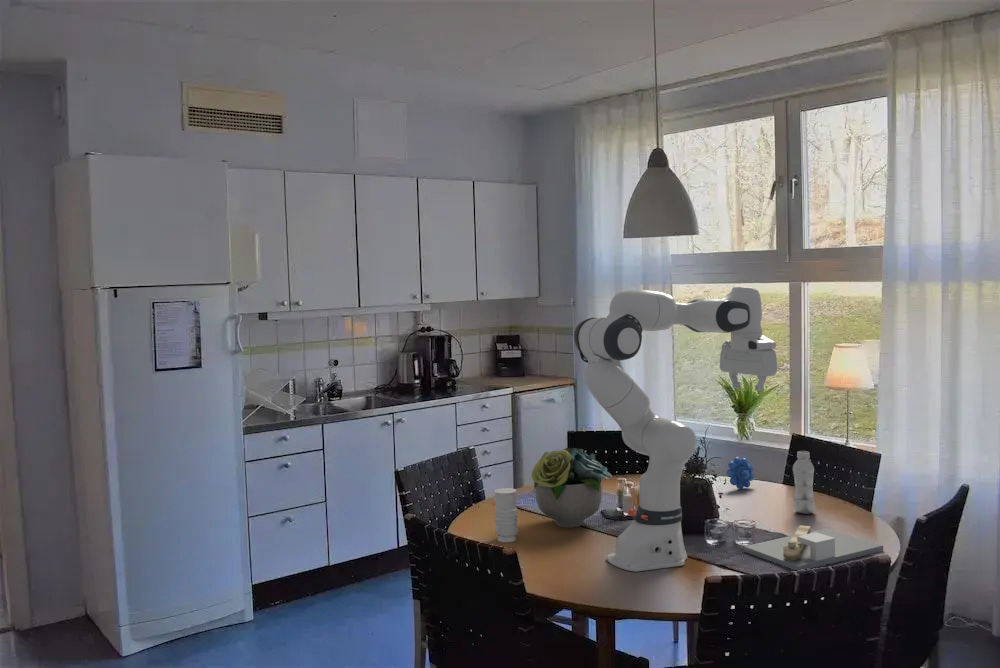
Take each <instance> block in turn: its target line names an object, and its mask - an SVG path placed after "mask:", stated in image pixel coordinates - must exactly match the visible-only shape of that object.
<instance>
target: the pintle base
mask: <svg viewBox="0 0 1000 668" xmlns="http://www.w3.org/2000/svg"><path fill="white" fill-rule="evenodd" d="M792 537H793V535H788V536H785V537H780V538H776V539H771V540H767V541H761V542H758V543H757V542H756V543H753V544H749V545H744V546H743V552H744V553H747V554H749V555H753V556H755V557H758V558H760V559H762V558H763V560H765V559H766V560H765V561H768V560H769V561H768V562H770V561H772V562H771V563H773V562H774V563H773V564H776V563H777V564H776V565H778V564H780V565H779V566H781V565H782V566H781V567H784V566H785V567H784V568H786V567H788V568H787V569H789V568H792V569H793V570H792V569H791V570H792V571H794V570H801V569H807V568H812V569H814V568H813V567H816V568H820V567H819V566H821V567H824V566H827V565H826V564H829V565H832V564H836V562H837V563H839V562H840V561H841V562H845V561H848V560H853V559H856V557H857V558H860V557H863V556H868V555H871V554H875V553H880V552H884V545H882V544H880V543H876V542H873V541H870V540H867V539H863V538H860V537H856V536H853V535H851V534H846V533H844V532H841V531H837V530H833V529H830V528H826V527H824V528H821V529H815V530H811V533H810V534H805V535H801V536H797V542H799V543H802V544H805V546H804V548H803V549H802V551H801V558H800V559H796V560H792V559H787V558H784V557H783V547H784V546H787V545H788V547H790V548H795V547H796V542H795V541H790V540H791V539H792ZM841 562H840V563H841Z"/></svg>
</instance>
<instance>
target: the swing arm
mask: <svg viewBox="0 0 1000 668" xmlns="http://www.w3.org/2000/svg"><path fill="white" fill-rule="evenodd" d="M811 528H812V527H811V526H810V525H799V526H798V527H797V529H796V530H795V532H794V534H793V535H792V536H793V537H792V539H791V540H790V541H795V542H796V547H795V548H790V547H788V545H787V546H784V547H783V557H784V558H787V559H792V560H796V559H800V558H801V551H802V549H803V548H804V546H805V544H802V543H799V542H797V536H801V535H805V534H810V533H811V531H812V529H811Z"/></svg>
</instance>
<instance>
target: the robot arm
mask: <svg viewBox="0 0 1000 668" xmlns="http://www.w3.org/2000/svg"><path fill="white" fill-rule="evenodd" d="M608 309H609V310H608V311H609V313H608V315H606V317H590V318H586V319H584V320H583V321H581V322H579V324H577V325H576V327H575V329H574V332H573V340H574V345H575V347H576V349H577V350H578V352H579V356H580V359H581V360H582V361H583V362H585V363H587V364H586V366H585V368H584V370H583V373H582V380H583V383H584V384H585V386H586V387H587V389H588V391H589V392H590V394H591V395H592V397H593V398H594V399H595V400H596V402H597V403H598V404H599V405H600V406H601V408H602V409H603V410H604V411H605V412H606V413H607V414H608V415H609V416H610V417H611V418H612V420H614V422H615V423H616V424H617V425H618V426H619V428H620V430H621V438H622V440H623V443H624V444H625V445H626V446H627V447H628V448H629V449H631V450H633V451H634V452H636V453H639V454H641V455H644V456H648V457H649V460H648V461H649V462H648V466H647V468H646V469H647V470H646V471H645V472H644V473H643V474H641V476H640V478H639V483H638V486H639V505H638V507H637V510H636V509H633V508H628V510H627V515H628V516H629V517H633V518H634V521H633V522H631V524H630V525H629V526H628V527H627V528H626V529H625V530H623V531H622V533H620V534H619V535H618V536H617V538H616V540H615V546H614V552H611V553H609V554H607V555H606V560H607V562H609V563H610V564H611V565H612V566H615V567H617V568H619V569H622V570H625V571H630V572H644V571H645V572H646V571H650V570H652V571H653V570H660V569H666V568H674V567H680V566H685V563H686V562H685V561H686V560H687V559H688V554H687V551H686V548H685V543H684V538H683V530H682V520H683V511H682V509H683V508H682V506H681V478H682V473H683V468H684V466H685V465H686V463H687V461H688V460H689V459H690V458H691V457H692V456H693V455H694V453H695V451H696V449H697V443H698V442H697V435H696V433H695V431H694V430H693V429H692V428H690V427H689V426H687V425H685V424H684V423H682V422H680V421H677V420H674V419H673V420H671V419H668V418H663V417H661V416H659V415H656V414H655V413H654V412H653V411H652V409H651V408H650V403H651V401H650V398H649V396H648V395H647V394H646V393H645V392H644V390H643V389H642V388H641V387H640V386H639V385H638V384H637V383H636V381H635V380H634V379H633V378H632V377H631V376H630V375H629V374H628V373H627V372H626V371H625V369H624V368H623V366H622V362H621V361H626V360H629V359H632V358H634V357H635V356H636V355H637V354H638V353H639V351H640V349H641V347H642V341H643V335H642V333H643V331H645V332H646V331H647V332H656V331H657V332H658V331H660V332H661V331H665V330H669V329H670V328H671V327H672V326H673V325H680V326H681V325H682V326H684V327H686V328H688V329H689V330H691V331H692V332H696V333H721V334H722V333H723V334H729V333H730V340H725V341H724V342H723V343H722V345H721V350H720V354H719V355H720V356H719V369H720V371H721V372H724V373H725V372H726V373H728V374H729V376H728V377H729V378H730V380H731V382H732V383H731V385H732V388H733V389H740V388H741V381H739V379H738V376H739V374H742V375H750V376H751V375H752V376H757V380H758V381H757V383H756V384H754V387H755V388H754V390H755V391H756V392H763V391H764V385H765V382H766V380H767V377H772V376H775V375H776V374H777V372H778V361H777V360H778V358H777V352H776V351H775V349H776V348H777V347H776V346H777V343H776V341H774V340H772V339H770V338H768V337H766V336H765V335H763V328H762V324H761V321H762V318H763V317H762V316H763V307H762V300H761V294H760V293H759V290H758V289H756V288H754V287H750V286H734V287H732V289H731V290H730V292H729V293H727V294H726V295H724V296H723V297H720V299H719V298H717V299H714V298H712V299H710V298H695V299H693V300H690V301H688V302H686V303H682V302H676V301H675V299H674V297H673V296H672V295H670V294H667V293H665V292H661V291H656V290H647V289H646V290H645V289H637V290H636V289H635V290H634V289H633V290H625V291H621V292H618V293H616V294H615V295H614V296H613V297H612V299H611V301H610V304H609V308H608Z"/></svg>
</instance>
